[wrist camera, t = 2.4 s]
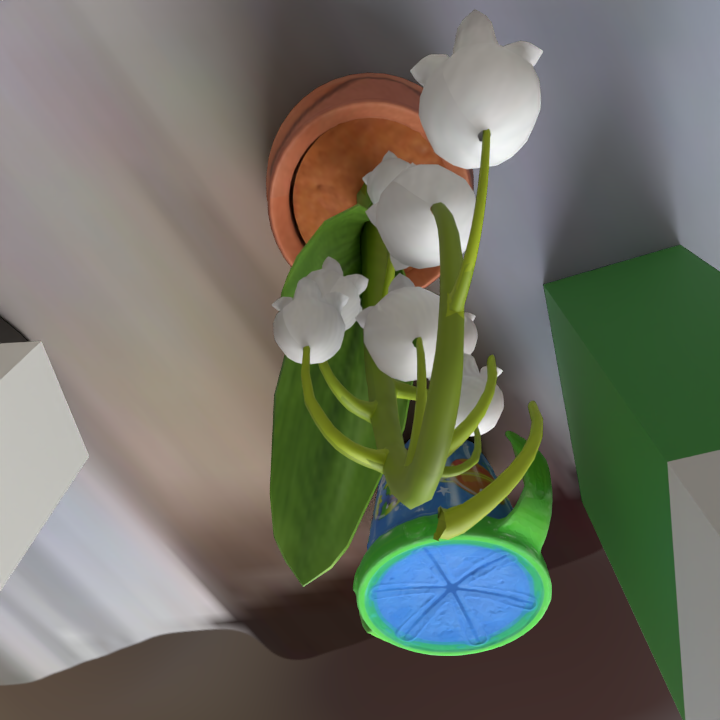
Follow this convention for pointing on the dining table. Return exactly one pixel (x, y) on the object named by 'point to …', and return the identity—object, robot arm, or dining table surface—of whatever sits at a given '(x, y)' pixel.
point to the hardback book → (651, 448)
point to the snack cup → (457, 564)
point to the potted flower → (388, 289)
